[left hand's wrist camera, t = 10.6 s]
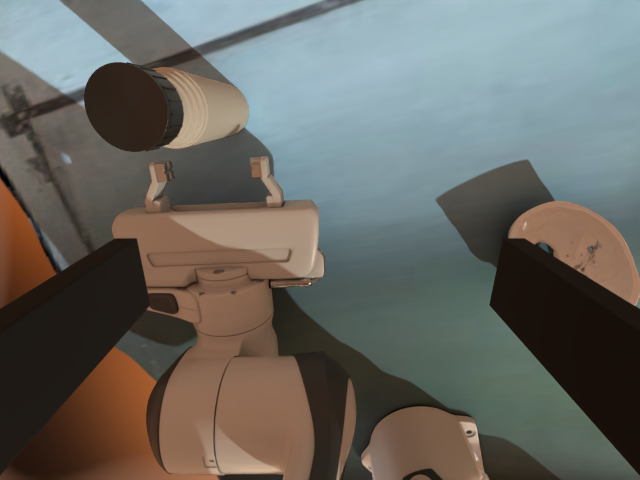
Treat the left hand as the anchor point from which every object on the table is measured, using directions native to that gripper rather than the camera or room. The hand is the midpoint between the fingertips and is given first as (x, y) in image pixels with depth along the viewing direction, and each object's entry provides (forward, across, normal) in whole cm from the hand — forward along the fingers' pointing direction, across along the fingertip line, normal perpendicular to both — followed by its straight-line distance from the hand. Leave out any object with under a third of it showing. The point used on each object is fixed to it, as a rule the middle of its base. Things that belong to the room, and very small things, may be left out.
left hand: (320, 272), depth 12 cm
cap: (+9, +11, -6) cm, 15 cm away
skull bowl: (+28, -27, +11) cm, 40 cm away
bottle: (+28, +10, -6) cm, 30 cm away
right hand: (+21, +10, -1) cm, 24 cm away
